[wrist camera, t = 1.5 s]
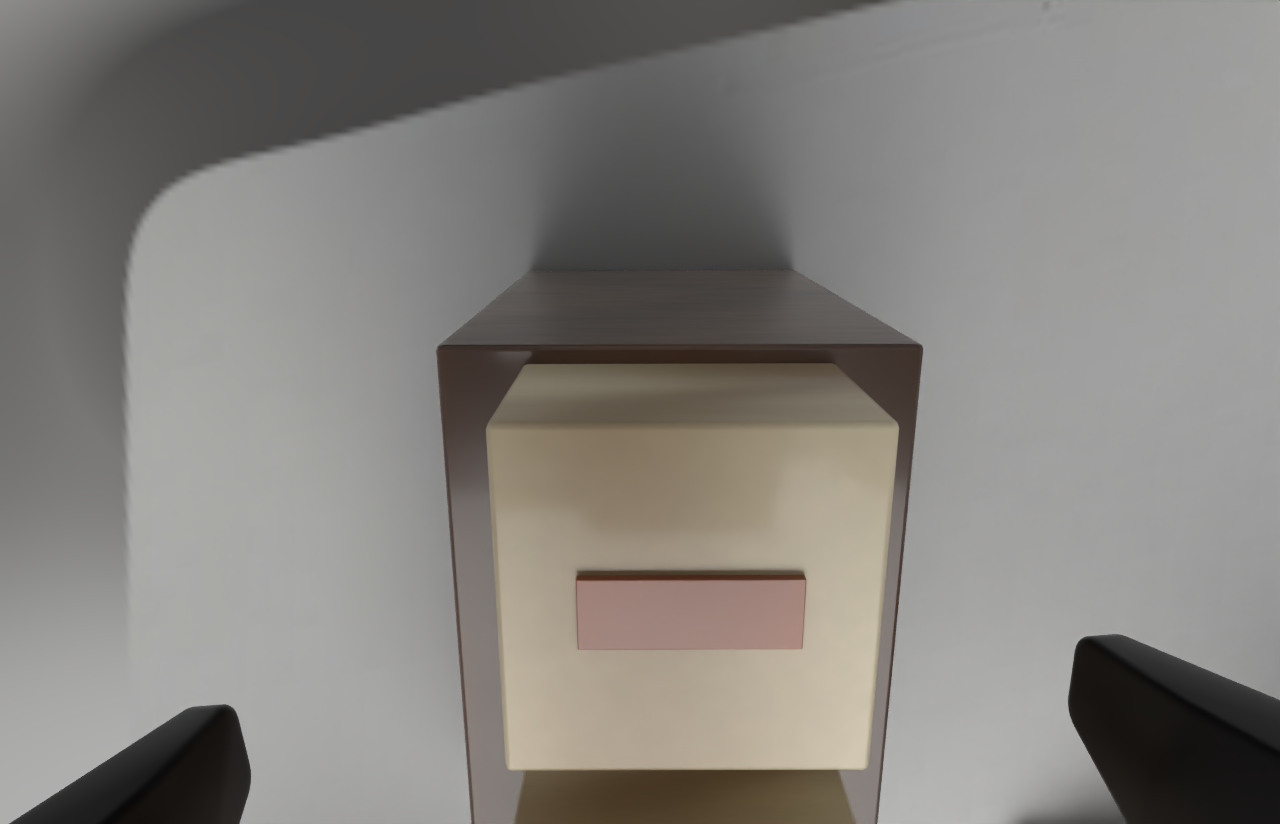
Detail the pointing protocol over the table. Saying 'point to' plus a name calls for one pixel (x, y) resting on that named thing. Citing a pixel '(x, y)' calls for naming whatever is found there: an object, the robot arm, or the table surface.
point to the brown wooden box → (653, 334)
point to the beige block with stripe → (689, 565)
